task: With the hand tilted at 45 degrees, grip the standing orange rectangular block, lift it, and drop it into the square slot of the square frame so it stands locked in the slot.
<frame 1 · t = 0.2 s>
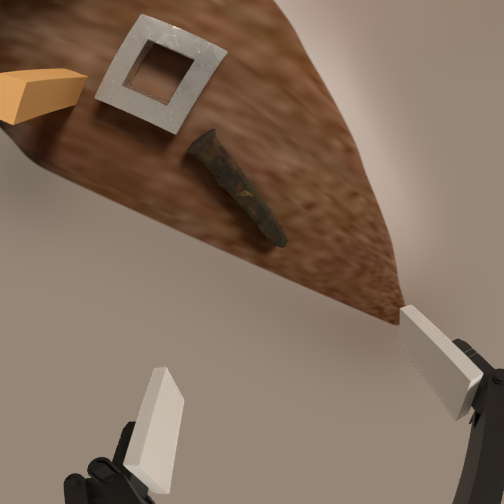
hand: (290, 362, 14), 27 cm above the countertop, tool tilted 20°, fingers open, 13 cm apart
orange rectangular block: (70, 86, 26), on the countertop
hand tool: (247, 185, 38), on the countertop
square frame: (162, 72, 28), on the countertop
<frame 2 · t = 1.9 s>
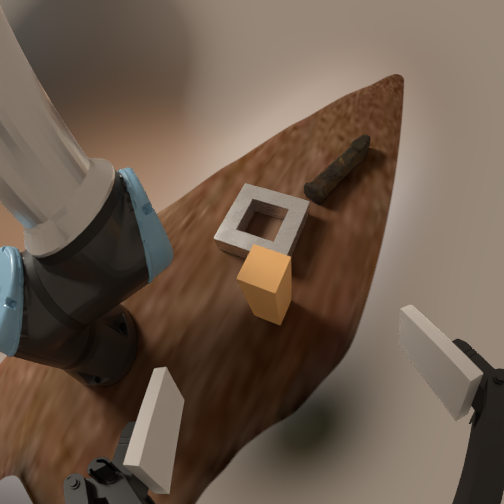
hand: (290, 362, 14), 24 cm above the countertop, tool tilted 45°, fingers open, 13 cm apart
orange rectangular block: (272, 307, 40), on the countertop
hand tool: (340, 171, 50), on the countertop
square frame: (264, 231, 46), on the countertop
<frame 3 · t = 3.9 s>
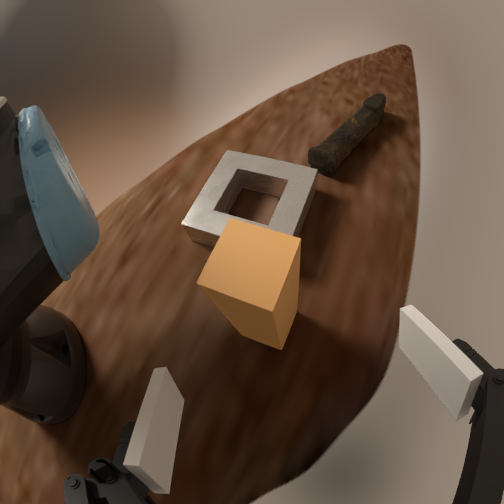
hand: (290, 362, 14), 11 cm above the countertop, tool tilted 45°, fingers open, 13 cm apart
orange rectangular block: (269, 323, 27), on the countertop
hand tool: (351, 138, 37), on the countertop
square frame: (255, 213, 32), on the countertop
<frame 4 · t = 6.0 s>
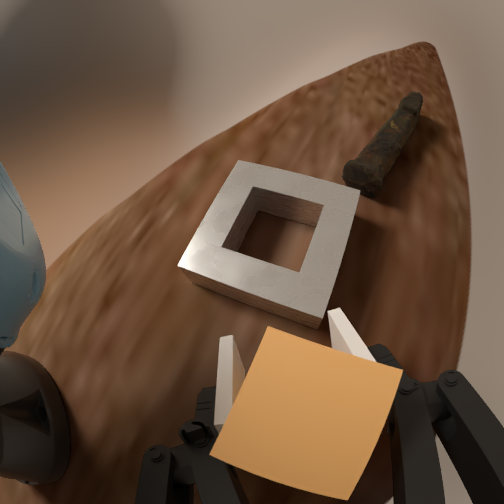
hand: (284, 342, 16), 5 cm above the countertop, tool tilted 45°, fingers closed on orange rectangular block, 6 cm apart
orange rectangular block: (297, 399, 19), on the countertop, touching gripper
hand tool: (387, 146, 29), on the countertop
square frame: (276, 247, 24), on the countertop
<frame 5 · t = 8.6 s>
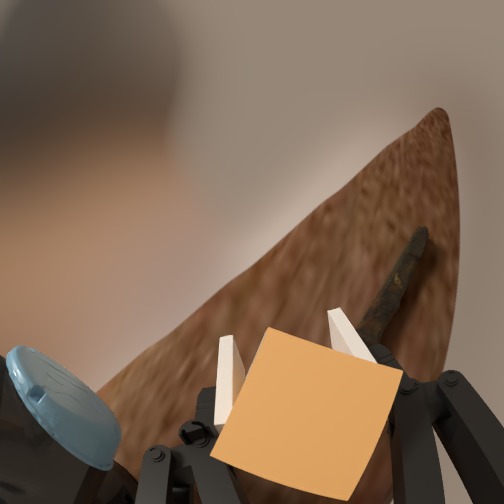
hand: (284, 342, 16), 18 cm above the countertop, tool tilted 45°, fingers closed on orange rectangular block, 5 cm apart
orange rectangular block: (297, 399, 19), point 13 cm above the countertop, touching gripper
hand tool: (389, 285, 35), on the countertop
when the fingers open (6 cm above the countertop, at t = 11.2 s): orange rectangular block stays where it is, resting in square frame.
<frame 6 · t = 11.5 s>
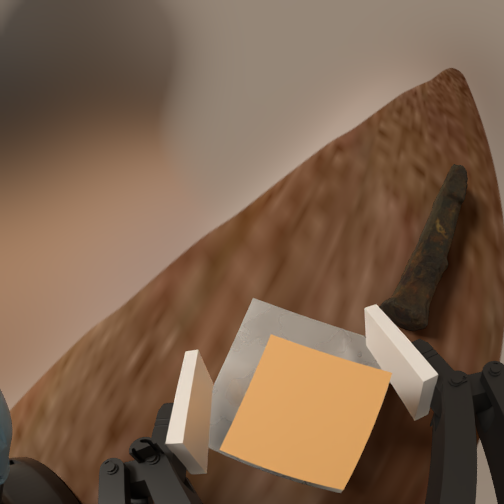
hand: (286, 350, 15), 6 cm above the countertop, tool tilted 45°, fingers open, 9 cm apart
orange rectangular block: (297, 399, 19), resting in square frame
hand tool: (424, 241, 24), on the countertop
square frame: (297, 398, 20), on the countertop
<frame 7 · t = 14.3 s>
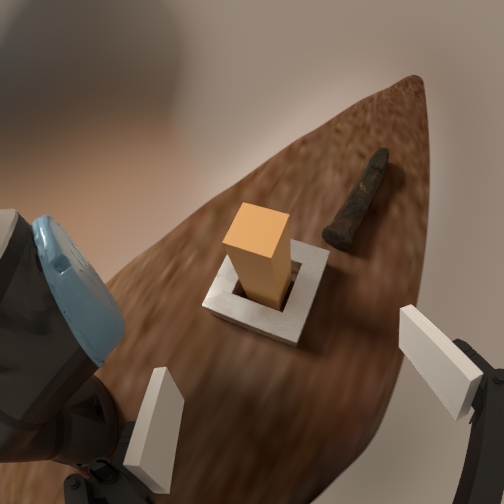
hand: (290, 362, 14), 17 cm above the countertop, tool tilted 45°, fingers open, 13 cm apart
orange rectangular block: (269, 289, 35), resting in square frame
hand tool: (358, 199, 39), on the countertop
square frame: (269, 289, 35), on the countertop
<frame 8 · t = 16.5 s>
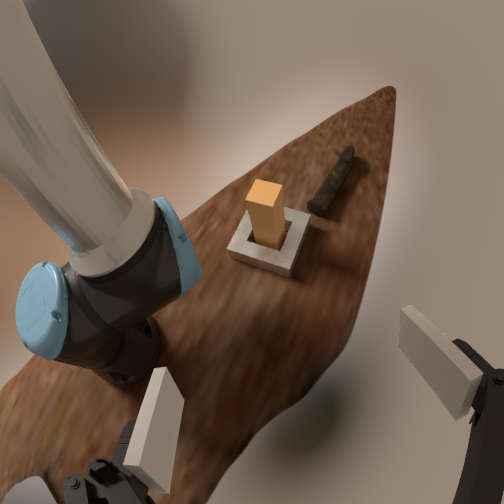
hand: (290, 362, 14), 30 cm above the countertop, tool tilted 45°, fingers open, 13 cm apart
orange rectangular block: (271, 241, 52), resting in square frame
hand tool: (332, 183, 57), on the countertop
square frame: (271, 241, 52), on the countertop
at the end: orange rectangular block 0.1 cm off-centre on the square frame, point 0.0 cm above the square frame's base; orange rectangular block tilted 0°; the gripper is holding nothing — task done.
